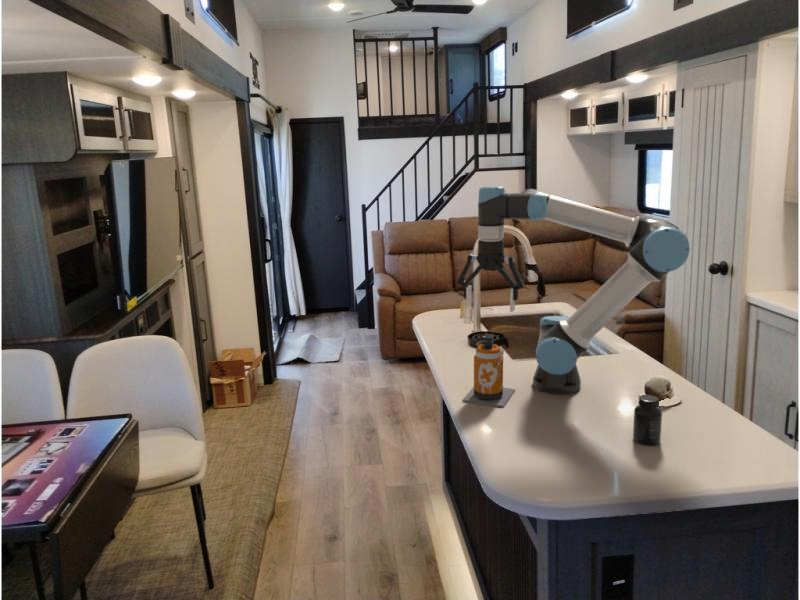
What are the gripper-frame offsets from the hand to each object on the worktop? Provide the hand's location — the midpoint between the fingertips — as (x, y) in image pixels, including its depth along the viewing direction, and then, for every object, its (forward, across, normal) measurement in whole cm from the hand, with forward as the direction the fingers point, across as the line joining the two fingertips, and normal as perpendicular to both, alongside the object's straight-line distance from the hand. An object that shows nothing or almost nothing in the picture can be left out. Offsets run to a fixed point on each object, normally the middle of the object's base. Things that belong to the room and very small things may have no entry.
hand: (490, 308), depth 191 cm
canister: (+28, 0, 0) cm, 28 cm away
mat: (+28, 0, 0) cm, 29 cm away
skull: (+29, -49, -16) cm, 59 cm away
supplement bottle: (+29, -47, +14) cm, 57 cm away
